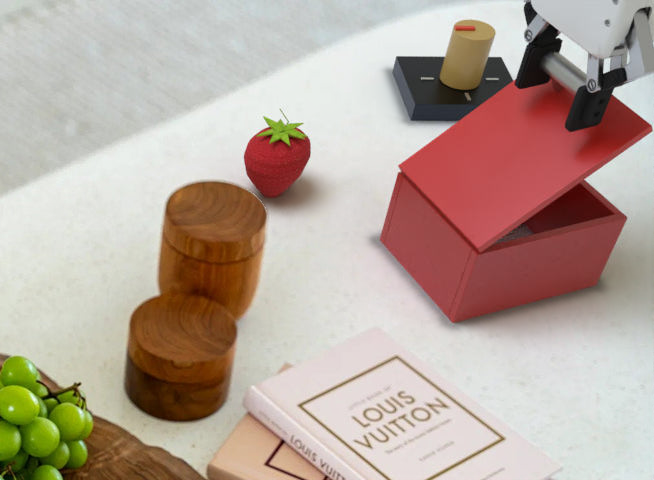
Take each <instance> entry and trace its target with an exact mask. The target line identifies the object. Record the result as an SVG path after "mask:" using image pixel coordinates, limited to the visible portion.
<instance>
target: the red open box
mask: <svg viewBox="0 0 654 480" xmlns="http://www.w3.org/2000/svg"><path fill="white" fill-rule="evenodd" d="M395 178H396V179H395V182H394V186H393V190H392V192H391V197H390V200H389V204H388V207H387V211H386V215H385V219H384V222H383V226H382V229H381V233H380V237H379V241H380V243H381V244H382V245H383V246H384V247H385V248H386V250H388V252H389V253H391V255H392V256H393V257H394V258H395V259H396V260H397V262H398V263H399V264H400V265H401V266H402V267H403V269H404V270H405V271H406V272H407V273H408V274H409V275H410V276H411V277H412V279H413V280H414V281H415V282H416V283H417V284H418V285H419V287H420V288H421V289H422V290H423V291H424V292H425V294H426V295H427V296H428V297H429V298H430V299H431V300H432V302H433V303H434V304H435V305H436V306H437V308H439V309H440V310H441V312H442V313H443V314H444V315H445V316H446V317H447V318H448V320H449V321H450V322H451V323H452V324H455V323H458V322H463V321H466V320H470V319H474V318H477V317H481V316H485V315H486V316H487V315H489V314H493V313H496V312H501V311H504V310H508V309H512V308H515V307H520V306H524V305H527V304H532V303H535V302H539V301H542V300H547V299H550V298H554V297H557V296H562V295H565V294H569V293H572V292H576V291H580V290H585V289H588V288H591V287H595V286H597V284H598V283H599V280H600V278H601V276H602V274H603V272H604V270H605V267H606V265H607V263H608V261H609V259H610V257H611V255H612V252H613V250H614V249H615V246H616V243H617V242H618V239H619V238H620V236H621V234H622V231H623V230H624V227H625V225H626V222H627V220H628V216H627V215H625V213H623V212H622V211H621V210H620V209H619V208H618V207H616V205H614V203H612V202H611V201H610V200H608V198H606V197H605V196H604V195H603V194H602V193H600V191H599V190H597V189H596V188H595V187H593V185H591V183H589V182H588V181H587V179H584V180H583V181H581V182H580V183H579V184H577V185H576V186H574V187H573V188H571V189H570V190H569V191H567V192H566V193H564V194H563V195H562V196H560V197H559V198H557V199H556V200H554V201H553V202H552V203H550V204H549V205H547V206H546V207H544V208H543V209H542V210H540V211H539V212H537V213H536V214H535V215H533V216H532V217H530V218H529V219H527V220H526V221H525V222H523V223H522V224H523V225H524V226H525V227H526V228H527V229H528V230H529V231H530V232H531V233H533V234H530V235H526V236H522V237H517V238H513V239H509V240H505V241H501V242H497V243H493V244H492V245H491V246H489V247H488V248H486V249H485V250H483V251H482V252H481V253H480V252H479V251H478V250H477V249H476V248H475V247H474V246H473V245H472V244H471V243H470V242H469V241H468V240H467V239H466V238H465V237H464V236H463V235H462V234H461V233H460V232H459V231H458V230H457V229H456V228H455V227H454V226H453V225H452V224H451V222H450V221H449V220H448V219H447V218H446V217H445V216H444V215H443V214H442V213H441V212H440V211H439V210H438V209H437V208H436V207H435V206H434V205H433V204H432V203H431V202H430V201H429V200H428V199H427V198H426V197H425V196H424V195H423V193H422V192H421V191H420V190H419V189H418V188H417V187H416V186H415V185H414V184H413V183H412V182H411V181H410V180H409V179H408V178H407V177H406V176H405V175H404V174H403V173H402V172H401V171H399V172H397V175H396V177H395Z"/></svg>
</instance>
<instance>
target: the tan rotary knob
mask: <svg viewBox="0 0 654 480" xmlns="http://www.w3.org/2000/svg"><path fill="white" fill-rule="evenodd" d="M454 23H455V24H454V25H453V27H452V31H451V35H450V37H449V41H448V43H447V48H446V51H445V55H444V57H445V58H444V62H443V65H442V69H441V72H440V80H441V81H442V82H443V83H444V84H445V85H447V86H449V87H451V88H454V89H459V90H470V89H474V88H476V87H478V86H479V84H480V82H481V79H482V75H483V72H484V69H485V66H486V63H487V60H488V57H490V53H491V51H492V48H493V44H494V41H495V37H496V35H497V32H496V29H495V27H493V26H492V25H491V24H489V23H487V22H485V21H481V20H478V19H462V20H459V21H457V22H454Z"/></svg>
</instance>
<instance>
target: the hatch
mask: <svg viewBox="0 0 654 480" xmlns="http://www.w3.org/2000/svg"><path fill="white" fill-rule="evenodd" d="M539 67H540V68H541V69H542V70H543V71H544V72H545V73H547V74H548V75H549V76H550V81H549V82H548V83H546V84H542V85H537V86H533V87H529V88H525V89H518V88H517V87H516V86H515V80H516V78H515V79H513V82H511V83H510V84H508V85H507V86H506V87H504V88H503V89H502V90H500V91H499V92H498V93H496V94H495V95H494V96H492V97H491V98H489V99H488V100H487V101H485V102H484V103H483V104H481V105H480V106H479V107H477V108H476V109H474V110H473V111H472V112H470V113H469V114H468V115H466V116H465V117H464V118H462V119H461V120H460V121H456V122H455V123H454V124H452V125H451V126H450V127H449V128H447V129H446V130H444V131H443V132H442V133H440V134H439V135H438V136H436V137H435V138H434V139H432V140H430V142H428V143H427V144H425V145H424V146H423V147H421V148H420V149H418V150H417V151H416V152H414V153H413V154H412V155H410V156H409V157H408V158H406V159H405V160H404V161H402V162H401V163H399V164H398V165H397V166H398V169H399V172H402V173H403V174H404V175H405V176H406V177H407V178H408V179H409V180H410V181H411V182H412V183H413V184H414V185H415V186H416V187H417V188H418V189H419V190H420V191H421V192H422V193H423V195H424V196H425V197H426V198H427V199H428V200H429V201H430V202H431V203H432V204H433V205H434V206H435V207H436V208H437V209H438V210H439V211H440V212H441V213H442V214H443V215H444V216H445V217H446V218H447V219H448V220H449V221H450V222H451V224H452V225H453V226H454V227H455V228H456V229H457V230H458V231H459V232H460V233H461V234H462V235H463V236H464V237H465V238H466V239H467V240H468V241H469V242H470V243H471V244H472V245H473V246H474V247H475V248H476V249H477V250H478V251H479V252H480V253H481V252H482V251H483V250H485V249H486V248H488V247H489V246H491V245H493V244H496V242H498V241H499V240H500V239H502V238H503V237H505V236H506V235H508V234H509V233H510V232H512V231H513V230H515V229H516V228H518V227H519V226H521V225H522V224H524V223H523V222H525V221H526V220H527V219H529V218H530V217H532V216H533V215H535V214H536V213H537V212H539V211H540V210H542V209H543V208H544V207H546V206H547V205H549V204H550V203H552V202H553V201H554V200H556V199H557V198H559V197H560V196H562V195H563V194H564V193H566V192H567V191H569V190H570V189H571V188H573V187H574V186H576V185H577V184H579V183H580V182H581V181H583V180H587V178H589V177H590V176H591V175H593V174H594V173H596V172H597V171H598V170H600V169H602V168H603V167H604V166H605V165H607V164H609V163H610V162H611V161H613V160H614V159H615V158H617V157H618V156H620V155H621V154H622V153H624V152H625V151H627V150H629V149H630V148H632V146H634V145H635V144H637V143H639V142H640V141H641V140H642V139H644V138H646V137H647V136H649V135H650V134H651V133H653V131H654V130H653V129H654V128H653V125H652V124H651V123H649V122H648V121H647V120H646V119H644V118H643V117H642V116H641V115H639V114H638V113H637V112H636V111H634V110H633V109H632V108H630V107H629V106H628V105H627V104H625V103H624V102H623V101H622V100H620V99H619V98H617V97H616V96H615V95H614V94H612V95H611V98H610V100H609V103H608V105H607V108H606V111H605V113H604V116H603V118H602V121H601V122H600V124H598V125H597V126H593V127H589V128H585V129H581V130H577V131H573V132H569V131H568V130H567V129H566V128H565V122H566V119H567V117H568V114H569V111H570V108H571V106H572V103H573V100H574V98H575V95H576V92H577V90H578V88H579V87H580V86H584V85H586V79H587V73H586V72H584V71H583V70H582V69H580V67H578V66H576V64H574V63H573V62H572V61H571V60H569V59H568V58H566V57H565V55H563V54H561V52H557V51H556V50H551V51H548V52H547V53H545V54H544V55H543V57H542V58H541V60H540V62H539Z"/></svg>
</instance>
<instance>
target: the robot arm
mask: <svg viewBox="0 0 654 480" xmlns="http://www.w3.org/2000/svg"><path fill="white" fill-rule="evenodd" d="M523 3H525V4H524V6H523V13H524V18H525V23H526V28H525V30H524V32H523V39H524V41H525V42H526V43H527V44H526V47H525V49H524V53H523V56H522V59H521V62H520V65H519V68H518V71H517V74H516V77H515V79H516V80H515V79H514V80H515V86H516V87H517V88H518V89H525V88H529V87H533V86H537V85H542V84H546V83H548V82H549V81H550V76H549V75H548V74H547V73H545V72H544V71H543V70H542V69H541V68H540V67H539V62H540V60H541V58H542V57H543V55H544V54H545V53H547V52H548V51H551V50H556V51H557V52H559V53H561V49H562V45H563V42H564V40H563V39H562V38H561V37H559V36H560V34H563V35H564V36H565V37H567V38H568V39H569V40H571V41H572V42H574V44H575V45H577V46H578V47H580V48H581V49H582V50H584V51H585V52H587V65H586V74H587V79H586V85H584V86H580V87H579V88H578V90H577V92H576V95H575V98H574V100H573V103H572V106H571V108H570V111H569V114H568V117H567V119H566V122H565V128H566V129H567V130H568V131H569V132H573V131H577V130H581V129H585V128H589V127H593V126H597V125H598V124H600V122H601V121H602V118H603V116H604V113H605V111H606V108H607V105H608V103H609V100H610V98H611V95H613V92H614V90H615V89H616V88H619V87H623V86H624V85H626V84H629V83H631V82H634V81H636V80H638V79H642V78H645V77H647V76H650V75H652V74H654V0H523ZM628 55H629V61H628ZM609 58H610V62H609V71H606V72H604V67H605V60H606V59H609Z"/></svg>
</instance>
